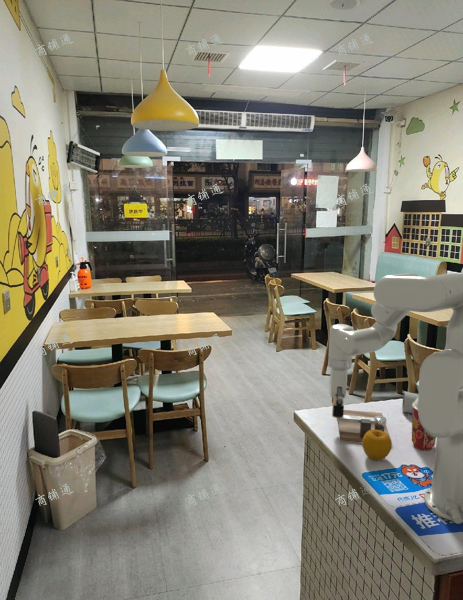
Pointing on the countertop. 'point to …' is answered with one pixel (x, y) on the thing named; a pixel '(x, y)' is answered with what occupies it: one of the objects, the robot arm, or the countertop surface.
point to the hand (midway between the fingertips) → (337, 409)
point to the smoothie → (420, 431)
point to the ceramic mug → (408, 401)
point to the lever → (377, 420)
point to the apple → (376, 444)
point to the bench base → (358, 426)
